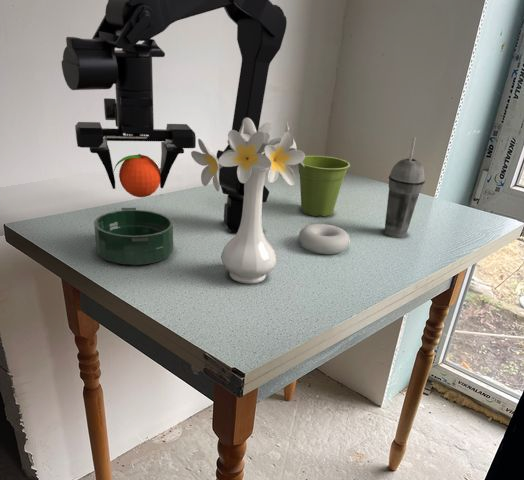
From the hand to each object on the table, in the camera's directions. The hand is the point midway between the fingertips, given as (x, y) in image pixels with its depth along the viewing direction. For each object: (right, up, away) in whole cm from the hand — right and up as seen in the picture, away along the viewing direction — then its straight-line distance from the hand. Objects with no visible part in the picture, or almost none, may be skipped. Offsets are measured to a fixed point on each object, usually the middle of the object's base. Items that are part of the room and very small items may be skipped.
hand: (138, 187), depth 96 cm
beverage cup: (+50, -3, +24) cm, 55 cm away
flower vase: (+19, -16, -1) cm, 24 cm away
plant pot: (+34, +4, +32) cm, 47 cm away
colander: (-2, -10, +5) cm, 11 cm away
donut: (+33, -8, +14) cm, 37 cm away
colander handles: (-1, -6, +2) cm, 7 cm away
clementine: (0, -1, +1) cm, 2 cm away
